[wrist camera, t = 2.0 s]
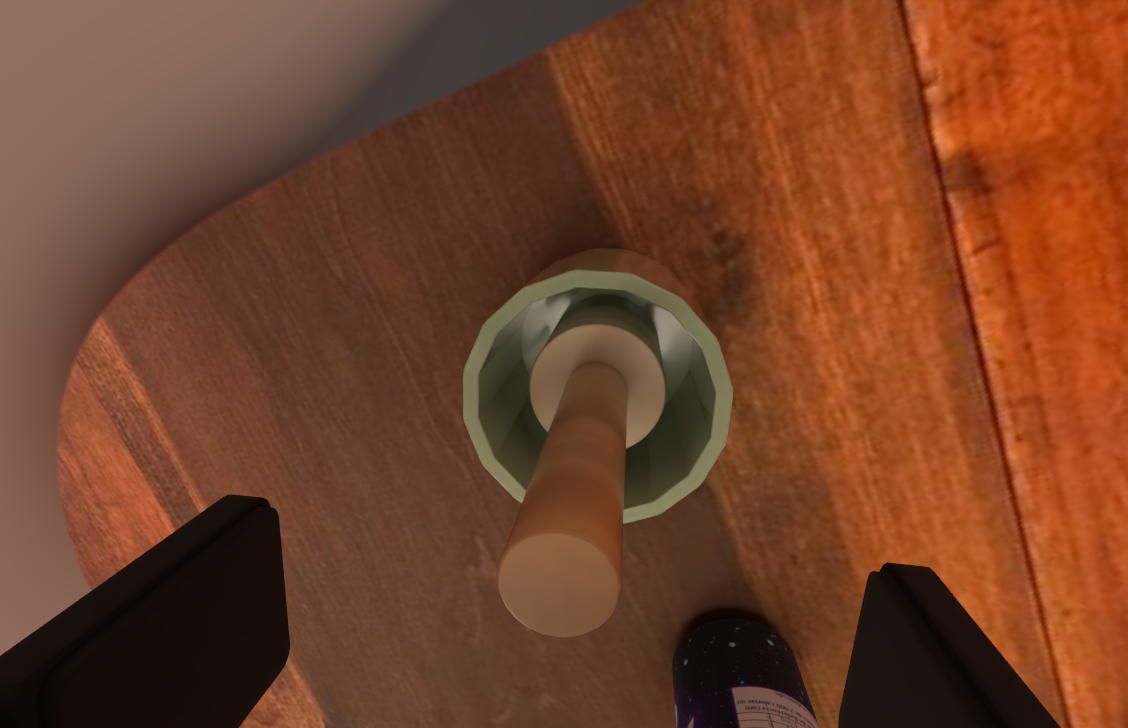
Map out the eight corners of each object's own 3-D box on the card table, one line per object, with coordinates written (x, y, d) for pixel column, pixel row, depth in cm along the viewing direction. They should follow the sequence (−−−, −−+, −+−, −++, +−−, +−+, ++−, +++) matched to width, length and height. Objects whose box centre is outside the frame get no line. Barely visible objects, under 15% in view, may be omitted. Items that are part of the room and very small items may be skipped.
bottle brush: (555, 290, 24) (422, 447, 9) (663, 297, 24) (713, 473, 9) (550, 392, 26) (427, 680, 10) (654, 400, 25) (682, 713, 10)
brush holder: (516, 242, 25) (462, 262, 17) (712, 253, 24) (748, 280, 16) (511, 423, 27) (462, 512, 19) (691, 438, 26) (714, 538, 19)
